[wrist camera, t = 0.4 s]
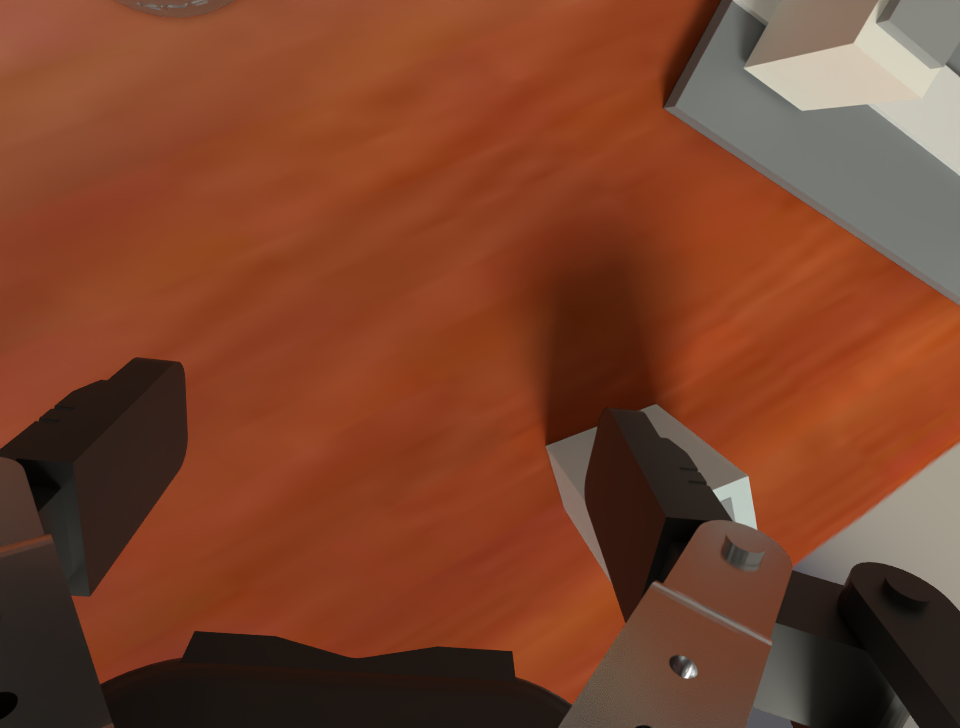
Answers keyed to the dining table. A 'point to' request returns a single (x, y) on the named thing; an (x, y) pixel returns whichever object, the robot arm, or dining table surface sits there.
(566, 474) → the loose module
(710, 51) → the mounting board
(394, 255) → the dining table surface
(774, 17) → the module
